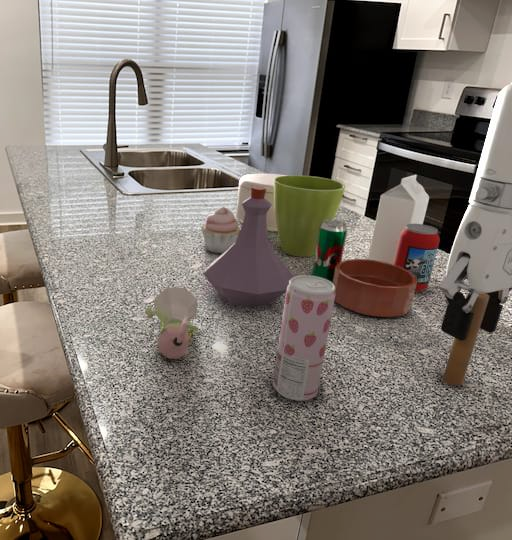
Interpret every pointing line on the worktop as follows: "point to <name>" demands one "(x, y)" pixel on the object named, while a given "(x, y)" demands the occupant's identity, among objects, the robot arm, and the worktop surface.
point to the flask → (250, 261)
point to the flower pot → (304, 210)
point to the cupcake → (220, 231)
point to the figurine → (174, 320)
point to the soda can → (329, 248)
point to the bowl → (374, 287)
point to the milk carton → (397, 217)
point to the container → (268, 183)
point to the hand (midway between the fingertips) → (467, 330)
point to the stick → (465, 345)
